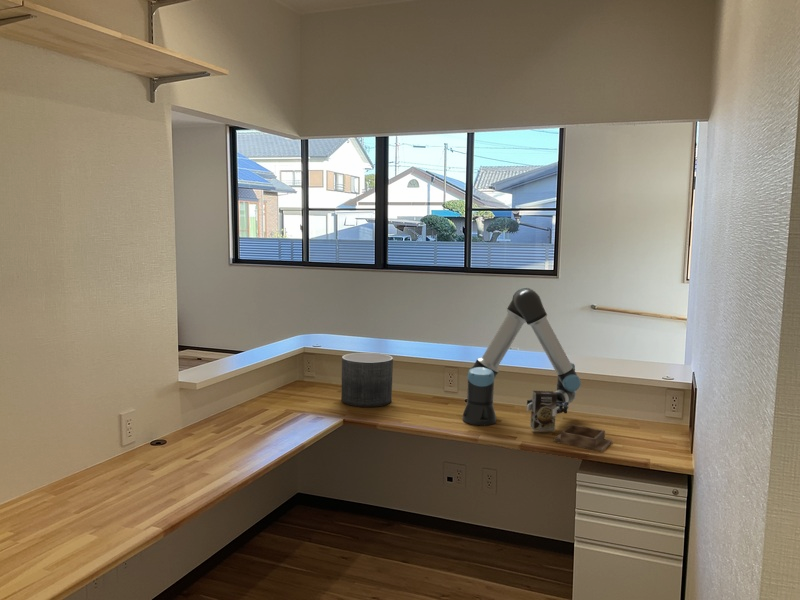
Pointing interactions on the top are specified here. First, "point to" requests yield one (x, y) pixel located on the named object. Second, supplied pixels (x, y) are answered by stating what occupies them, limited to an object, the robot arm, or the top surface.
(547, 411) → the coffee box
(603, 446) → the stand
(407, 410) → the top surface
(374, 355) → the planter
